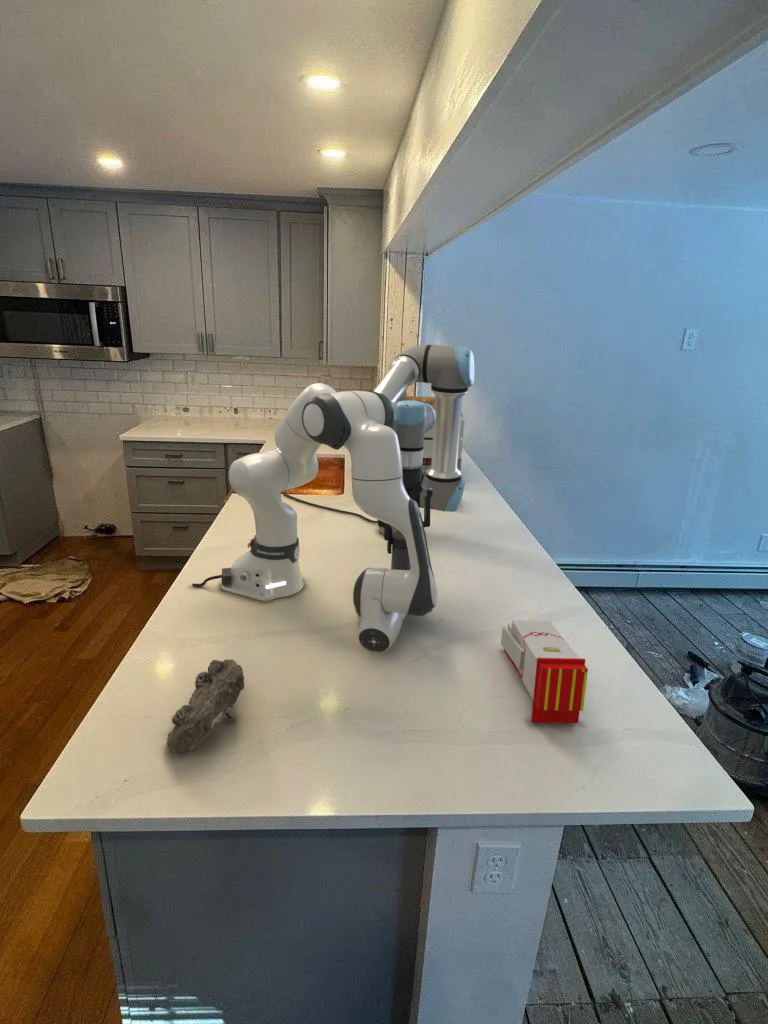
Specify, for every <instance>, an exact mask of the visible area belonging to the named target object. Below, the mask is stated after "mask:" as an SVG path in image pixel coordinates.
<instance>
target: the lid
mask: <svg viewBox="0 0 768 1024" xmlns="http://www.w3.org/2000/svg"><path fill="white" fill-rule="evenodd" d="M392 545H393V546H396V547H400V548H407V543H406V539H405V537H404V535H403V534H402V533H401V532H400V531H399V532H394V533H392Z"/></svg>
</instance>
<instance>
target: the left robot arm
mask: <svg viewBox="0 0 768 1024" xmlns="http://www.w3.org/2000/svg"><path fill="white" fill-rule="evenodd" d="M393 417H394V412H393V407H392V404H391V402H390V400H389V399H388V398H387V397H386V396H385V395H383V394H381V393H379V392H375V391H373V390H345V391H336V389H334V388H333V387H332V386H330V385H328V384H327V383H321V382H318V383H317V382H316V383H311V384H310V385H308V386H307V387H306V388H305V389H304V390H303V391H301V393H300V394H299V395H298V396H297V397H296V398H295V399H294V401H293V402H292V403H291V405H290V406H289V408H288V409H287V411H286V413H285V414H284V416H283V417H282V419H281V421H280V422H279V423H278V425H277V427H276V428H275V431H274V435H273V436H274V442H275V446H276V447H275V448H273V449H270V450H266V451H259V452H255V453H249V454H247V455H244V456H242V457H240V458H237V459H236V460H234V461H233V462H232V463H231V464H230V467H229V470H228V482H229V484H230V486H231V489H232V490H233V491H234V492H235V494H236V495H238V496H239V497H241V498H243V499H245V500H246V502H247V503H248V504H249V506H250V508H251V510H252V513H253V516H254V526H255V534H254V536H253V537H252V539H250V541H249V542H248V543H247V549H249V548H250V549H249V550H248V551H246V552H245V553H243V554H242V555H241V556H239V557H237V559H236V560H235V561H233V563H232V565H231V567H222V568H221V574H219V575H213V576H209V577H207V578H205V579H204V580H203V582H201V583H191V586H192V587H195V588H200V587H204V586H205V585H206V584H207V582H209V581H212V580H216V579H221V590H223V591H225V592H230V593H234V594H236V595H240V596H244V597H248V598H252V599H255V600H259V601H262V602H269V601H272V600H275V599H279V598H285V597H289V596H293V595H295V594H297V593H299V592H300V591H301V590H302V589H303V588H304V586H305V585H304V581H303V577H302V574H301V568H300V562H299V561H300V560H299V559H300V539H299V537H298V514H297V512H296V510H295V509H294V508H293V507H292V506H291V505H290V504H287V503H286V502H283V500H282V494H281V492H284V491H288V490H293V489H296V488H299V487H300V488H301V487H302V486H304V485H306V484H308V483H310V482H311V481H313V480H315V479H316V478H317V475H318V473H319V461H318V458H317V455H316V453H317V451H318V450H319V448H320V447H321V445H325V446H328V447H329V448H331V449H333V450H336V451H339V450H340V449H342V447H344V448H345V449H346V450H347V451H348V454H349V455H350V456H349V457H350V461H351V470H350V471H351V490H352V496H353V501H354V502H355V504H356V505H357V507H358V508H359V509H360V510H361V511H362V512H363V513H364V514H366V515H368V516H369V517H371V518H373V519H375V520H377V519H378V520H380V521H383V522H385V523H387V524H389V525H391V526H393V527H395V528H396V529H398V530H399V531H400V532H401V533H402V534H403V535H404V537H405V539H406V543H407V548H408V553H409V558H410V564H411V570H394V569H391V568H382V567H380V568H379V567H367V568H365V569H364V570H363V571H362V572H360V574H359V575H358V577H357V578H356V581H355V582H354V586H353V591H352V601H353V606H354V610H355V613H356V614H357V615H358V616H359V618H360V623H359V624H360V625H359V627H358V628H359V629H358V633H357V638H358V639H357V640H358V642H359V644H360V645H361V646H362V648H364V649H365V650H367V651H369V652H373V653H384V652H385V651H387V650H389V649H390V648H391V647H392V646H393V645H394V643H395V641H396V640H397V637H398V635H399V633H400V631H401V628H402V625H403V623H404V621H405V618H406V616H407V615H411V616H415V617H423V616H425V615H427V614H429V613H432V612H433V610H434V609H435V608H436V606H437V602H438V586H437V581H436V579H435V574H434V571H433V568H432V563H431V558H430V557H431V556H430V553H429V546H428V541H427V536H426V531H425V530H426V529H425V528H424V525H423V521H424V520H423V517H422V512H421V508H419V507H418V504H417V502H416V501H414V500H412V499H411V498H410V497H409V496H408V494H407V492H406V490H405V487H404V484H403V473H402V459H401V451H400V445H399V441H398V437H397V434H396V432H395V431H394V430H393V429H392V428H390V427H391V425H392V422H393Z"/></svg>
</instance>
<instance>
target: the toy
mask: <svg viewBox="0 0 768 1024" xmlns="http://www.w3.org/2000/svg"><path fill="white" fill-rule="evenodd" d="M500 645H501V646H502V648H503V652H504V654H505V655H506V657H507V658H508V660H509V661H510V663H511V664H512V666H513V668H514V669H515V671H516V672H517V674H518V676H519V677H520V679H521V680H522V683H523V685H524V686H525V688H526V690H527V692H528V694H529V696H530V697H531V699H532V708H531V719H530V722H531V723H532V724H579V719H580V712H583V711H584V706H585V697H586V689H587V680H588V671H589V669H588V667H587V666H586V659H585V658H580V657H579V656H578V655H577V654H576V652H575V651H574V650H573V648H572V647H571V646H570V645H569V644H568V642H567V641H566V640H565V638H564V637H563V636H562V634H561V633H560V632H559V631H558V630H557V628H556V627H555V626H554V624H553V623H552V622H551V621H549V620H548V621H545V620H540V621H539V620H511V622H508V623H507V626H502V632H501V638H500Z"/></svg>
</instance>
